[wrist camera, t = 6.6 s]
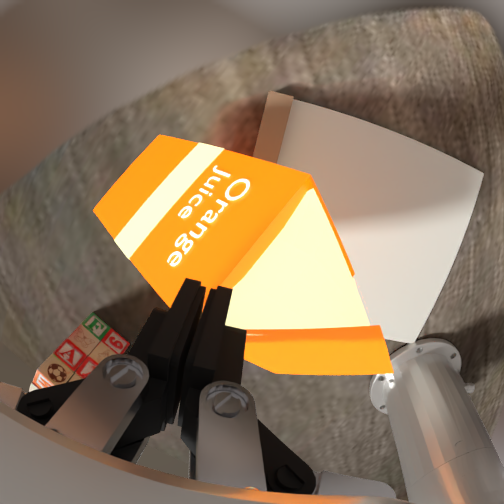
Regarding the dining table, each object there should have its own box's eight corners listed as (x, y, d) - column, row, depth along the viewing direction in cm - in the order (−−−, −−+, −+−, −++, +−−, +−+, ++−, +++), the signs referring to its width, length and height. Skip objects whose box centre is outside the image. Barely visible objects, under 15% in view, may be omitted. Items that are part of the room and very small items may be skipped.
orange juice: (160, 132, 22) (441, 218, 8) (220, 202, 28) (432, 314, 15) (90, 211, 21) (287, 438, 7) (164, 269, 27) (347, 433, 14)
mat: (481, 172, 24) (492, 175, 22) (412, 341, 31) (417, 352, 29) (270, 94, 24) (269, 90, 22) (221, 298, 31) (217, 308, 30)
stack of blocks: (81, 404, 42) (48, 454, 31) (53, 380, 41) (16, 428, 30) (131, 342, 35) (85, 412, 24) (92, 309, 34) (35, 370, 23)
